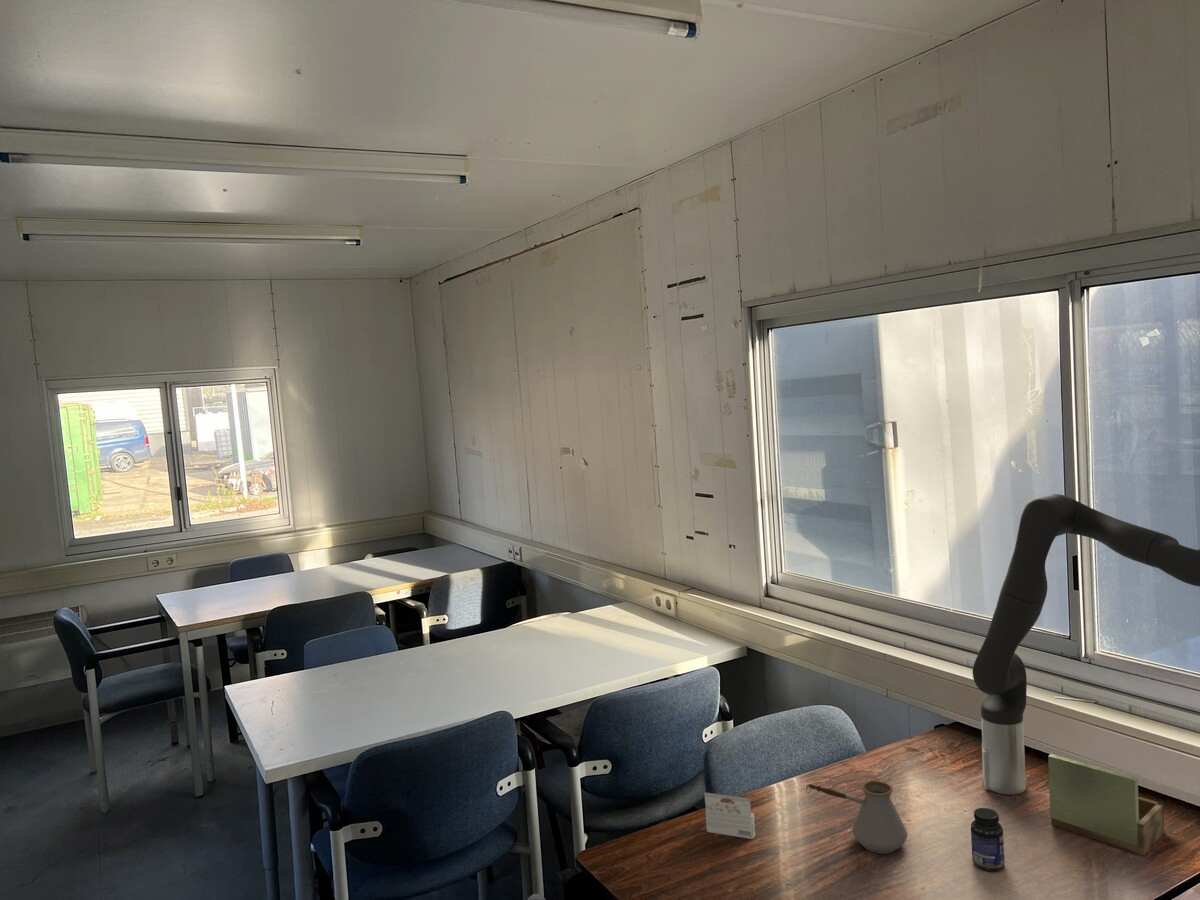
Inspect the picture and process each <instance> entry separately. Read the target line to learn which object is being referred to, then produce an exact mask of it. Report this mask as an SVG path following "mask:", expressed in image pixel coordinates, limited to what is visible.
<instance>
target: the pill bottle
mask: <svg viewBox="0 0 1200 900" xmlns="http://www.w3.org/2000/svg"><path fill="white" fill-rule="evenodd" d="M999 815H1000V814H999V813H998V811H996V810H994V809H992V808H990V807H989V808H988V807H978V808H975V809H974V811H973V818H974V820H973V821H972V822H971V824H970V834H971V835H970V839H971V856H972V857H971V860H972V863H973V864H974V866H975V867H976V868H978V869H980V870H982V871H985V872H993V873H994V872H1000V871H1002V870H1003V869H1004V868H1005V866H1006V865H1005V844H1004V841H1005V840H1004V829H1003V825H1001V824H1000V823H999V822H1000V821H999V820H1000V818H999Z"/></svg>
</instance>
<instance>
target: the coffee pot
mask: <svg viewBox="0 0 1200 900" xmlns="http://www.w3.org/2000/svg"><path fill="white" fill-rule="evenodd" d="M808 788H809V791H808ZM861 789H862V791H863V793H864V798H863V799H862V798H858V797H855V796H850V795H847V794H846V793H843V792H839V791H838V790H835V789H831V788H827V787H822V786H820V785H814V784H807V785H806V787H805V792H806V794H808V795H809V794H810V793H811V791H812V790H816V791H817V792H822V793H823V794H826V795H827V796H833V797H837V798H841V799H845V800H849V801H852V802H854V803H858V804H861V805H860V808H859V810H858V813H857V815H856V818H855V820H854V822H853V825H852V828H851V829H852V830H851V831H852V833H853V836H854V839H855V840H856V841H857V842H858V843H859V844H861V845H862V846H863V847H864V848H865V849H866V850H868V851H869V852H872V853H875V852H876V853H877V854H891V853H894V852H896V851H897V850H898V849H900V848H901V847H902V846H903V845H904V844H905V843H906V841H907V838H908V831H907V830H906V829H907V828H906V827H905V825H904V823H903V820H902V819H901V817H900V815H899V814H898V811H897V809H896V807H895V805H894V803H893V801H892V799H891V794H893V790H894V788H893V787H892V785H890V784H889V783H887V782H884V781H880V780H869V781H866V782H865V783H863V784H862V786H861ZM896 849H897V850H896ZM895 850H896V851H895ZM893 851H894V852H893ZM890 852H891V853H890Z"/></svg>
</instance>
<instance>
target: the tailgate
mask: <svg viewBox="0 0 1200 900" xmlns="http://www.w3.org/2000/svg"><path fill="white" fill-rule="evenodd" d="M1047 759H1048V760H1047V761H1048V785H1049V813H1050V814H1049V816H1050V818H1054V819H1057V820H1060V821H1063V822H1066V823H1069V824H1072V825H1075V826H1078V827H1081V828H1084V829H1087V830H1090V831H1093V832H1096V833H1099V834H1102V835H1105V836H1108V837H1111V838H1114V839H1117V840H1120V841H1123V842H1126V843H1129V844H1132V845H1135V846H1137V845H1138V844H1139V843H1140V841H1139V806H1138V796H1139V778H1138V777H1137V776H1134V775H1130V774H1126V773H1122V772H1118V771H1115V770H1111V769H1109V768H1104V767H1100V766H1097V765H1093V764H1090V763H1087V762H1082V761H1079V760H1075V759H1071V758H1068V757H1064V756H1061V755H1057V754H1054V753H1050V754H1049V755H1048V757H1047Z"/></svg>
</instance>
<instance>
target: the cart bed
mask: <svg viewBox="0 0 1200 900" xmlns="http://www.w3.org/2000/svg"><path fill="white" fill-rule="evenodd" d="M1164 805H1165V804H1164V803H1162V802H1159V801H1156V800H1153V799H1149V798H1145V797H1143V796H1139V795H1138V806H1139V841H1140V843H1139V844H1138V845H1137V846H1135V845H1132V844H1129V843H1126V842H1123V841H1120V840H1117V839H1114V838H1111V837H1108V836H1105V835H1102V834H1099V833H1096V832H1093V831H1090V830H1087V829H1084V828H1081V827H1078V826H1075V825H1072V824H1069V823H1066V822H1063V821H1060V820H1057V819H1054V818H1051V817H1050V818H1051V819H1050V820H1051V821H1050V822H1051V823H1050V824H1051V825H1052V826H1056V827H1059V828H1061V829H1065V830H1067V831H1071V832H1073V833H1076V834H1080V835H1082V836H1086V837H1089V838H1091V839H1094V840H1097V841H1100V842H1103V843H1107V844H1109V845H1112V846H1115V847H1117V848H1120V849H1123V850H1127V851H1129V852H1132V853H1134V854H1138V855H1142V856H1145V855H1146V854H1147V853H1148V851H1149V850H1150V849H1151V848H1152V847H1153V846H1154V845H1155V844H1156V843H1157V842H1158V841H1159V840H1160V838H1161V837H1162V836H1163V835H1164V834H1165V810H1164V809H1165V807H1164Z"/></svg>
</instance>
